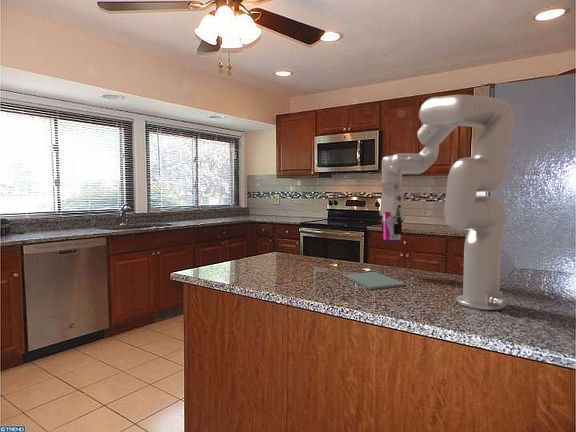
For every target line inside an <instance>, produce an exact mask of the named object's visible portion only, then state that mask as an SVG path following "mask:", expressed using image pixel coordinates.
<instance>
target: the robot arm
mask: <svg viewBox="0 0 576 432" xmlns="http://www.w3.org/2000/svg"><path fill="white" fill-rule="evenodd" d="M418 118H419V121H420V122H421V123H422V125H421V126H420V128H419V129H418V130H417V133H416V134H417V135H416V136H417V139H418V140H419V142H420V144H421V145H423V146H424V148H422V150H421V151H419V152H418V153H404V152H402V153H394V154H392V155H387V156H386V155H385V156H383V158H382V160H381V197H380V210H379V211H378V213H379V214H378V215H379V216H380V217H379V218H380V222H381V232H382V233H383V216H384V212H390V217H393V219H394V222H395V224H394V234H395V235H398V234H401V235H402V234H403V224H404V220H405V217H406V215H407V214H406V210H405V200H404V197H405V196H404V192H403V175H420V174H422V173H424V172H426V171H427V170H428V169H429V168H430V167H431V166H432V165H433V164H434V163H435V162H436V160H437V158H438V155H439V152H440V151H439V150H440V144H442V143H443V141H444V140H445V139H446V138H447V137H448V136H449V135H450V134H451V133H452V132H453V131H454V130H455V129H456V128H457V127H470V128H471V127H472V128H482V129H483V130H481V132H480V134H479V135H478V137H477V138H476V142H475V145H474V147H475V148H474V154H473V157H470V156H469V157H462V158H459V159H457V160H456V161H455V162H454V163H453V164H452V166H451V167H450V169H449V173H448V174H447V175H448V176H447V181H446V189H445V190H446V192H445V199H444V200H445V201H444V212H443V213H444V218H445V222H446V224H447V225H448V226H449V227H450V228H451V229H453V230H455V231H468V232H467V234H466V236H465V239H464V244H463V245H464V246H463V247H464V249H463V277H462V278H463V282H462V283H463V284H462V287H463V288H462V294H460V295H458V296H457V297H456V298H457V299H456V302H457V303H458V304H460V305H462V306H465V307H467V308H471V309H475V310H476V309H477V310H483V311H486V310H487V311H497V310H498V311H499V310H502V309H505V308H506V306H507V305H509V303H510V299H509V298H506V297H503V291H500V287H501V286H500V284H501V283H500V282H501V281H500V280H501V279H500V278H501V254H502V253H501V252H502V237H503V231H504V228H505V227H504V226H505V224H506V223H505V222H506V220H507V219H506V218H507V210H506V206H505V205H504V203H503V202H502V201H501V200H500V199H499V198H497V197H494V196H489V195H477V193H480V192H481V193H483V192H487V193H488V192H494V191H497V190H499V189H500V188H502V187H503V185H504V183H505V180H506V173H507V167H508V160H509V153H510V144H511V139H512V135H513V131H514V127H515V120H516V119H515V112H514V110H513V108H512V106H511V105H510V104H509V103H507V102H506V101H505V100H502V99H500V98H496V97H490V96H483V95H482V96H481V95H470V94H451V95H441V96H433V97H430V98H427V99H426V100H425V101H424V102H423V103H422V104H421V106H420V109H419V111H418ZM398 214H399V216H396V215H398ZM397 218H398V220H397Z"/></svg>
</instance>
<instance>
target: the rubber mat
mask: <svg viewBox="0 0 576 432" xmlns="http://www.w3.org/2000/svg"><path fill="white" fill-rule="evenodd" d="M345 277H346V279H347V278H348V280H350V281H351V282H354V283H357V284H358V285H360V286H362V287H364V288H367V289H369V290H378V289H379V290H380V289H388V288H398V287H399V288H400V287H406V286H407V283H406V282H402V281H400V280H397V279H394V278H392V277H390V276H387V275H384V274H383V273H382V274H381V273H380V272H377V271H372V272H371V271H370V272H360V273H349V274H347V273H346V274H343V278H345Z"/></svg>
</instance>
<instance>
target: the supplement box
mask: <svg viewBox="0 0 576 432" xmlns="http://www.w3.org/2000/svg"><path fill="white" fill-rule="evenodd" d="M396 216H399V214H398V215H396ZM397 220H398V218H397ZM394 224H395V222H394V219H393V217H390V212H384V216H383V232H382V233H383V234H382V235H383V236H382V237H383V241H385V242H401V236H402V234H398V235H395V234H394Z"/></svg>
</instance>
